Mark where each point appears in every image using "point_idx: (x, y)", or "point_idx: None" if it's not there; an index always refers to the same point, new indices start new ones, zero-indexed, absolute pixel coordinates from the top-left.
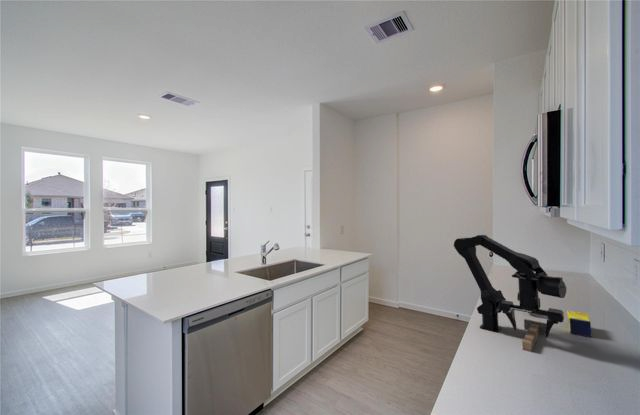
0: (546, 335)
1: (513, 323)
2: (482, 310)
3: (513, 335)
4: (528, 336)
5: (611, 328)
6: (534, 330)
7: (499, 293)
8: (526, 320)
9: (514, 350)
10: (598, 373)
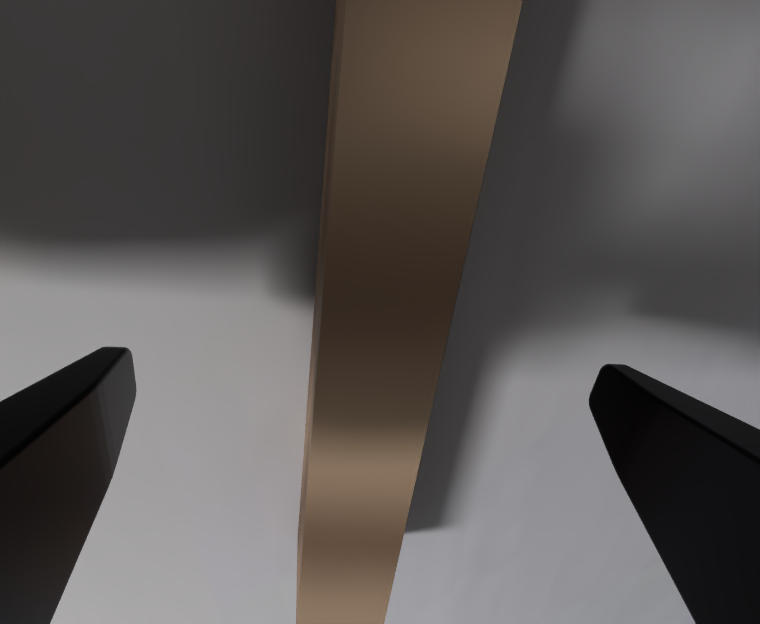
0: (613, 449)
1: (47, 591)
2: None
3: (100, 196)
4: (352, 477)
5: None
6: (457, 125)
7: None
8: None
9: (235, 588)
10: None
